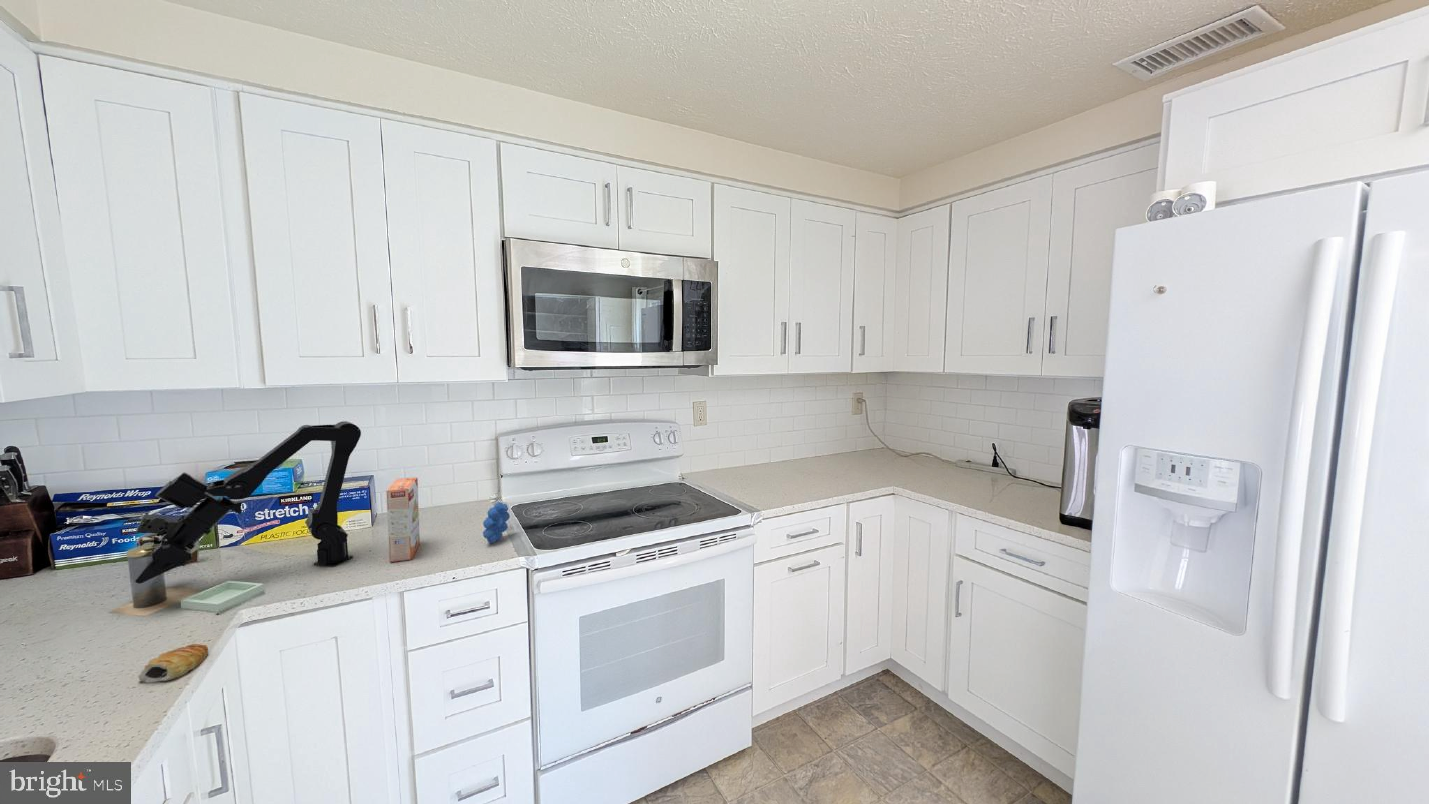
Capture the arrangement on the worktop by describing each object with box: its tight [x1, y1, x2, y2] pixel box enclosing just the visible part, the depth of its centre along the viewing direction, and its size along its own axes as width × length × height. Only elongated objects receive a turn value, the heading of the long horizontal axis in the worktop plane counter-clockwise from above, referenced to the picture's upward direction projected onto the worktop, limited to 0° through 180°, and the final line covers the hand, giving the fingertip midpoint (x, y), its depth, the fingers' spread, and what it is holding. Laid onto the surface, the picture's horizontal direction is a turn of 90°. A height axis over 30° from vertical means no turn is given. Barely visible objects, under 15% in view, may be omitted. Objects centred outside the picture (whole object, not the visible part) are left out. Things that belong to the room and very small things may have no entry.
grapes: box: [482, 501, 511, 544], centre depth 158 cm, size 12×7×12 cm, turn 168°
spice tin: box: [125, 544, 167, 608], centre depth 116 cm, size 5×5×13 cm
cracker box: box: [386, 477, 421, 563], centre depth 147 cm, size 14×6×21 cm, turn 22°
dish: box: [180, 580, 265, 616], centre depth 119 cm, size 10×10×2 cm
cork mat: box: [107, 587, 206, 617], centre depth 118 cm, size 12×10×1 cm
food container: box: [134, 533, 200, 565], centre depth 137 cm, size 12×6×10 cm, turn 141°
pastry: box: [138, 643, 209, 684], centre depth 95 cm, size 9×7×4 cm
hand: (138, 577), depth 115 cm, fingers open, 7 cm apart
